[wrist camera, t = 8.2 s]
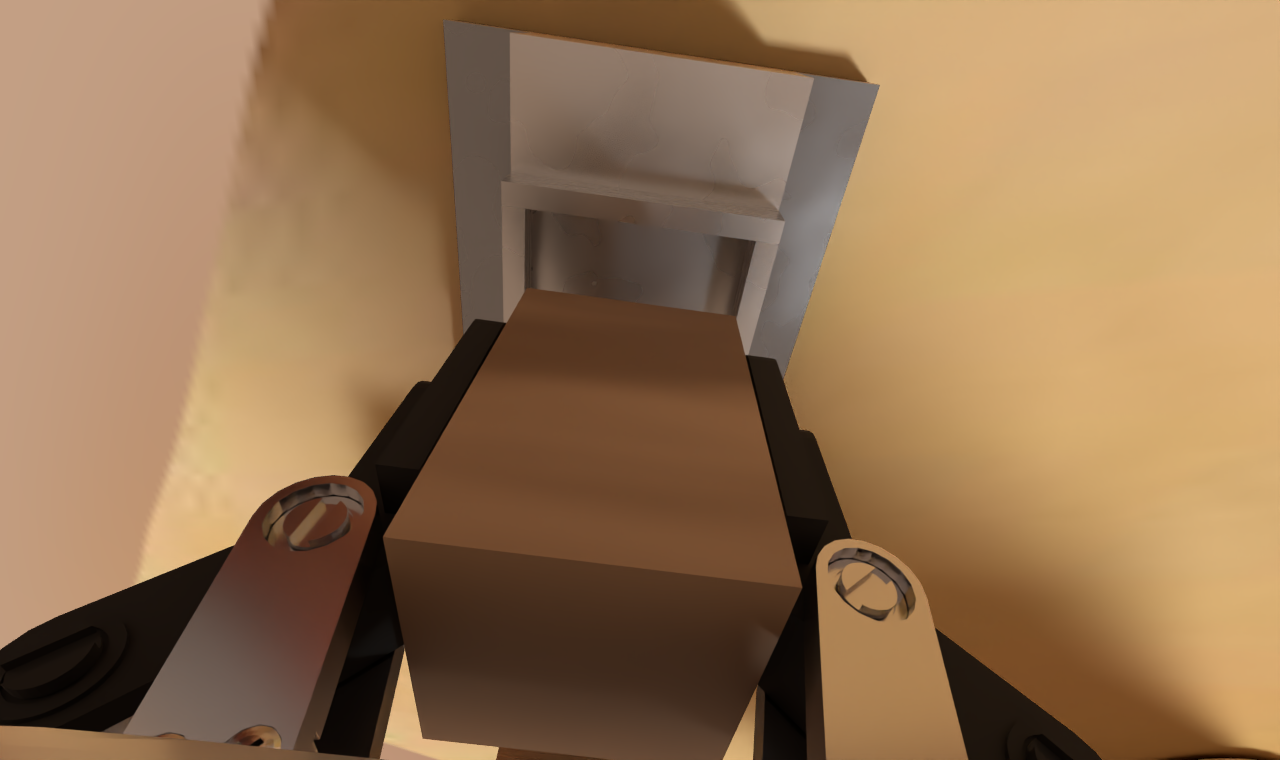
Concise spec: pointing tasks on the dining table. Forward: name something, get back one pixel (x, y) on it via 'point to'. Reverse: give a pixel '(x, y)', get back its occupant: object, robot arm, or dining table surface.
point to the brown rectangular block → (596, 539)
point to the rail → (644, 181)
